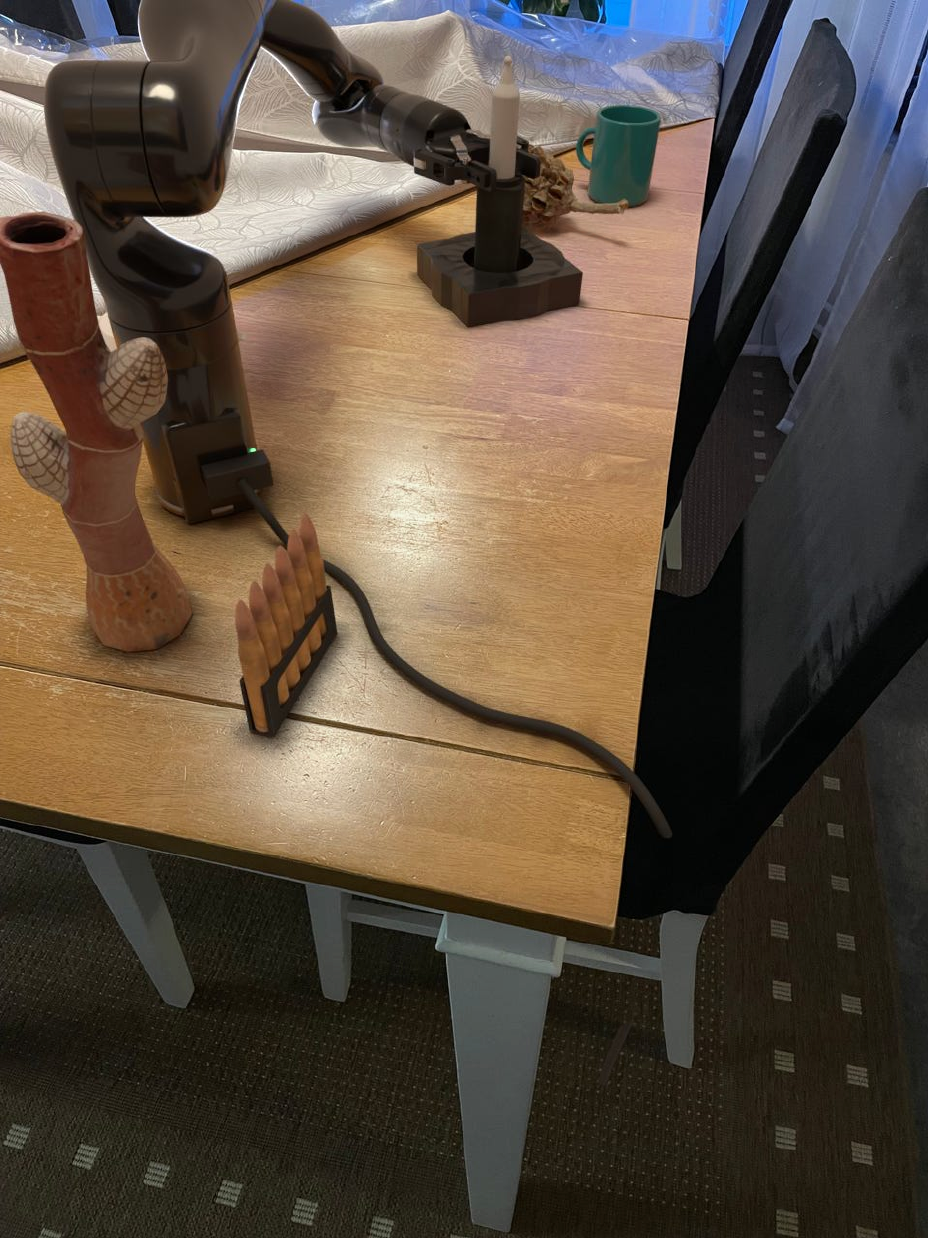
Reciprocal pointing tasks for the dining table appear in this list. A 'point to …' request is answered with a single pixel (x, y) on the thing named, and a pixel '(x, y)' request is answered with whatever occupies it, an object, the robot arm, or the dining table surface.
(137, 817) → the dining table surface
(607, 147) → the cup
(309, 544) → the ammunition clip
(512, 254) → the candle
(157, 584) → the vase
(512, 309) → the candle base
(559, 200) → the pine cone
